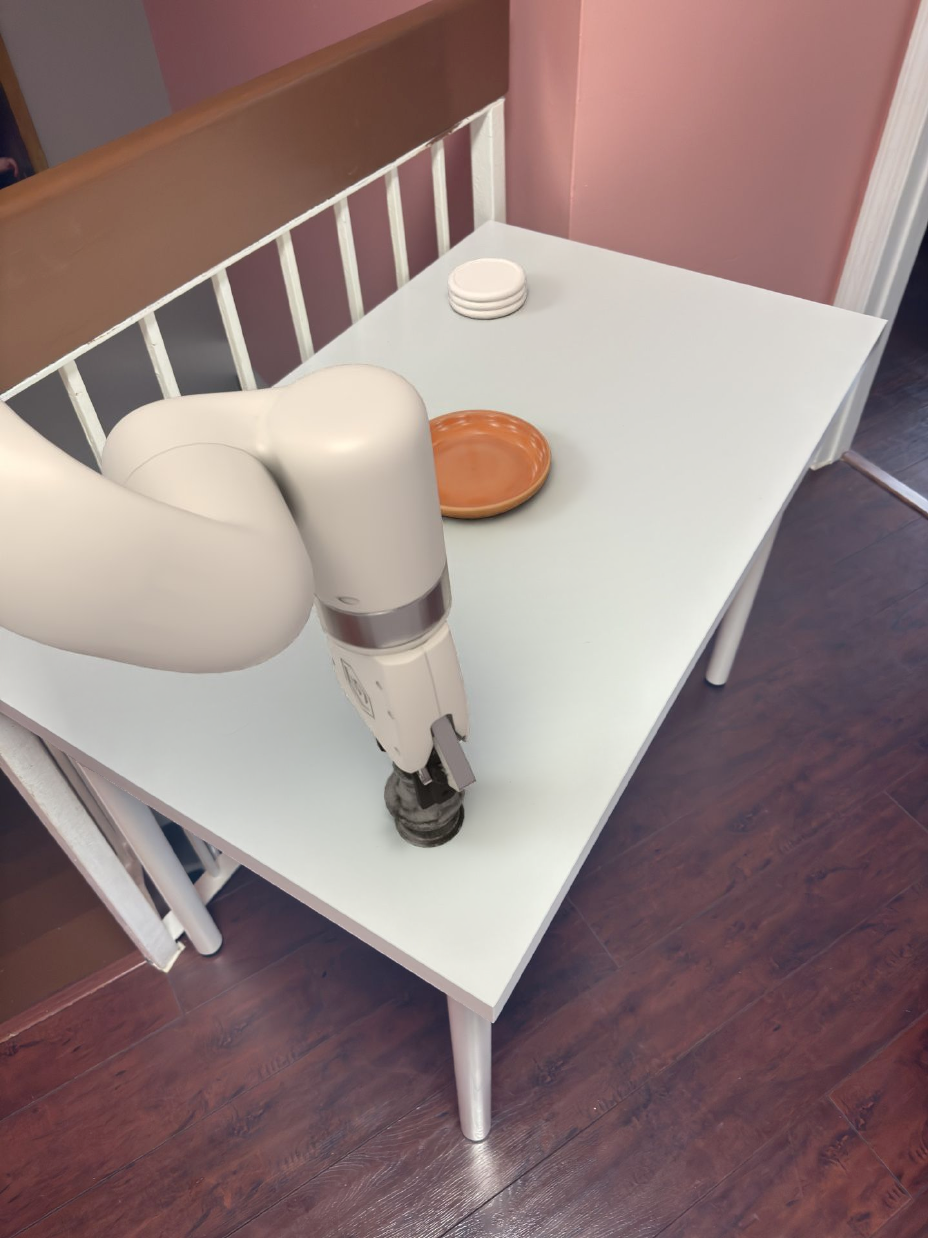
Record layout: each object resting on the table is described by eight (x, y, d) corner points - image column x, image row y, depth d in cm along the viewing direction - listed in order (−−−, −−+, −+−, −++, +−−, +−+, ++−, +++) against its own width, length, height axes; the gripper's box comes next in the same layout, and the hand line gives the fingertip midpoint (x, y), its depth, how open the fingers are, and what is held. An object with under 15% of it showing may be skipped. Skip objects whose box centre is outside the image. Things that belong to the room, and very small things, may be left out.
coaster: (441, 318, 116) (438, 293, 113) (459, 279, 122) (456, 254, 119) (519, 322, 114) (518, 296, 111) (532, 282, 120) (532, 256, 117)
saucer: (575, 505, 90) (575, 482, 88) (420, 548, 88) (417, 525, 85) (519, 417, 101) (518, 394, 98) (380, 453, 98) (376, 430, 96)
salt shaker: (435, 866, 65) (416, 776, 57) (374, 824, 68) (346, 732, 59) (484, 806, 68) (473, 712, 59) (423, 768, 71) (404, 673, 62)
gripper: (256, 530, 54) (317, 712, 67) (398, 723, 44) (436, 891, 57) (367, 480, 56) (405, 665, 70) (527, 651, 46) (534, 830, 59)
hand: (419, 766), depth 63 cm, fingers open, 4 cm apart
